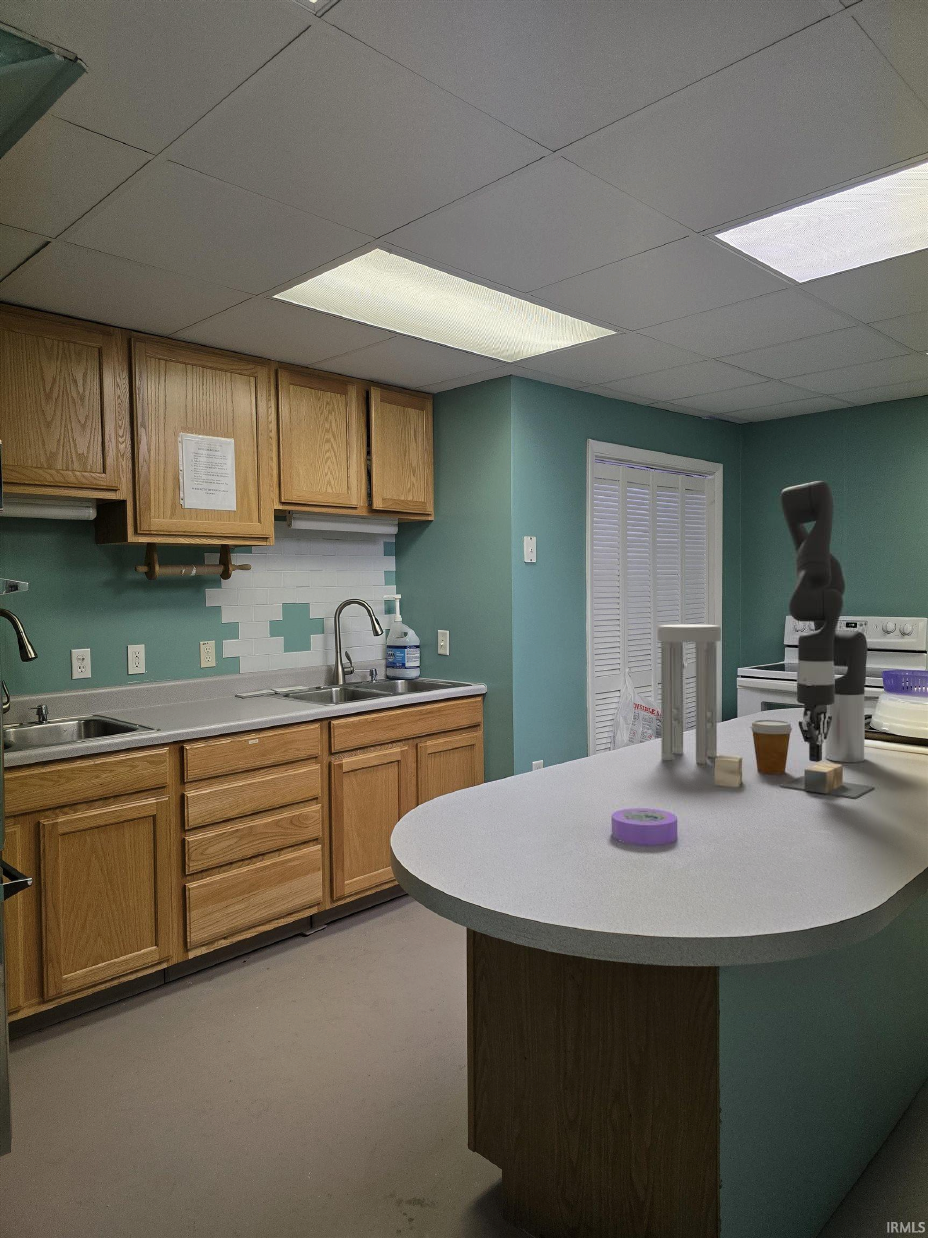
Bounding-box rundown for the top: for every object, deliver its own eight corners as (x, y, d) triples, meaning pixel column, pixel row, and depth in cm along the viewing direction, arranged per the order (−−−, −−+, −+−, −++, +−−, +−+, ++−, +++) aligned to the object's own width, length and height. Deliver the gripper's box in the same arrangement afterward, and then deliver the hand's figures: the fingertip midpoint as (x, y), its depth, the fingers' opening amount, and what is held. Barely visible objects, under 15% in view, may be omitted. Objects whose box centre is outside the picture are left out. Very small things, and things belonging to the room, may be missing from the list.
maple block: (719, 780, 190) (719, 754, 190) (742, 782, 188) (742, 756, 188) (715, 785, 186) (715, 758, 186) (737, 787, 183) (737, 760, 183)
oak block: (804, 789, 178) (822, 781, 186) (825, 793, 175) (842, 784, 182) (804, 769, 178) (822, 762, 185) (825, 772, 175) (842, 765, 182)
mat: (801, 777, 192) (801, 775, 192) (874, 788, 180) (874, 786, 180) (780, 786, 183) (780, 785, 183) (855, 798, 172) (855, 796, 172)
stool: (726, 755, 218) (726, 624, 217) (710, 766, 205) (710, 627, 204) (669, 750, 226) (669, 624, 225) (651, 760, 213) (650, 626, 212)
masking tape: (599, 831, 152) (599, 811, 152) (653, 824, 156) (653, 804, 156) (634, 850, 141) (634, 828, 141) (690, 842, 145) (690, 820, 145)
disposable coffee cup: (785, 767, 203) (785, 719, 202) (797, 776, 193) (797, 725, 193) (746, 767, 204) (746, 719, 203) (756, 775, 194) (755, 725, 194)
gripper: (810, 677, 184) (810, 754, 184) (785, 682, 174) (785, 763, 175) (844, 679, 178) (844, 758, 179) (821, 685, 169) (821, 768, 170)
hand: (815, 761), depth 177 cm, fingers closed
